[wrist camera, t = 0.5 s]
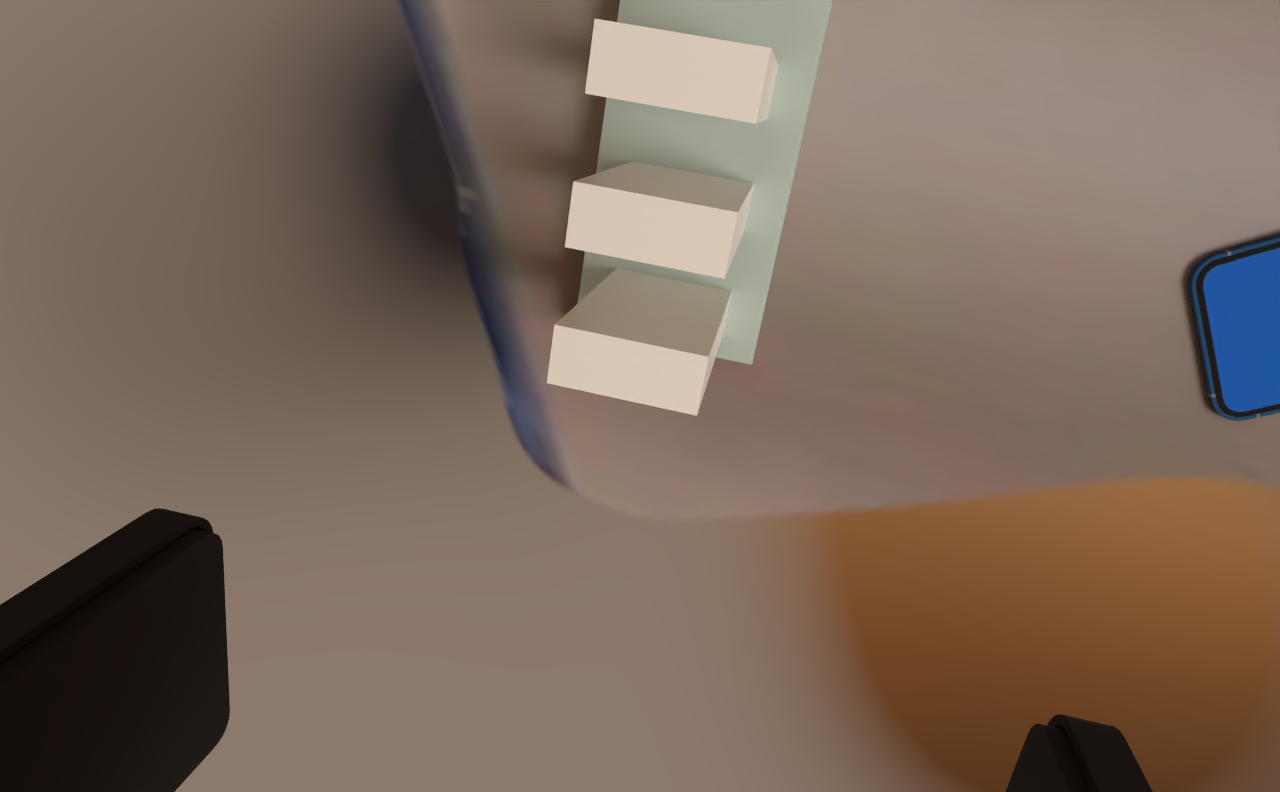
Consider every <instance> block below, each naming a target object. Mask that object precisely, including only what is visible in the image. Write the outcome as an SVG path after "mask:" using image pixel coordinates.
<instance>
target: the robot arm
mask: <svg viewBox="0 0 1280 792" xmlns="http://www.w3.org/2000/svg"><path fill="white" fill-rule="evenodd" d="M229 711H230V705H229V683H228V658H227V635H226V612H225V589H224V565H223V546H222V540H221V539H220V537H219V536H218V535H217V534H215V533H213V530H212V526H211V525H210V523H209V521H207V520H206V519H204V518H201V517H197V516H192V515H188V514H183V513H179V512H175V511H170V510H166V509H153V510H151V511H149V512H147V513H145V514H143V515H142V516H140V517H139V518H137V519H135V520H134V521H132V522H131V523H129V524H127V525H126V526H124V527H123V528H121V529H120V530H118V531H116V532H115V533H113V534H112V535H110V536H108V537H107V538H105V539H104V540H102V541H101V542H99V543H97V544H96V545H94V546H93V547H91V548H89V549H88V550H86V551H85V552H84V553H82V554H80V555H78V556H77V557H75V558H74V559H72V560H70V561H69V562H67V563H66V564H64V565H63V566H61V567H59V568H58V569H56V570H55V571H53V572H51V573H50V574H48V575H47V576H45V577H44V578H42V579H41V580H39V581H37V582H36V583H34V584H32V585H31V586H29V587H28V588H26V589H25V590H23V591H22V592H20V593H19V594H17V595H15V596H14V597H12V598H10V599H9V600H7V601H6V602H4V603H2V604H1V605H0V792H175V791H176V789H177V788H178V787H179V786H180V785H181V784H182V783H183V782H184V780H185V779H186V778H187V777H188V776H189V775H190V774H191V773H192V772H193V771H194V769H195V768H196V767H197V766H198V765H199V764H200V763H201V762H202V761H203V760H204V758H205V757H206V756H207V755H208V754H209V753H210V752H211V751H212V750H213V748H214V747H215V746H216V745H217V743H218V742H219V741H220V739H221V737H222V736H223V734H224V732H225V729H226V726H227V724H228V720H229V713H230V712H229ZM1006 792H1152V790H1151V788H1150V786H1149V784H1148V782H1147V780H1146V778H1145V776H1144V774H1143V772H1142V770H1141V768H1140V767H1139V765H1138V763H1137V761H1136V759H1135V757H1134V755H1133V753H1132V751H1131V749H1130V747H1129V745H1128V743H1127V741H1126V739H1125V737H1124V736H1123V735H1122V734H1121V732H1120V730H1119V729H1117V728H1115V727H1113V726H1109V725H1105V724H1101V723H1096V722H1091V721H1087V720H1083V719H1079V718H1074V717H1070V716H1065V715H1061V714H1060V715H1055V716H1054V717H1053V718H1052V719H1051V720H1050V721H1049V723H1048V725H1047V726H1046V725H1042V724H1035V725H1034V726H1033V727H1032V728H1031V729H1030V731H1029V733H1028V736H1027V738H1026V740H1025V743H1024V746H1023V748H1022V751H1021V753H1020V756H1019V758H1018V761H1017V763H1016V766H1015V769H1014V771H1013V774H1012V777H1011V779H1010V781H1009V784H1008V787H1007V789H1006Z"/></svg>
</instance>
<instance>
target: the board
mask: <svg viewBox="0 0 1280 792" xmlns="http://www.w3.org/2000/svg"><path fill="white" fill-rule="evenodd" d="M832 2H833V0H620V5H619V12H618V19H617V22H618V23H624V24H630V25H636V26H642V27H648V28H654V29H660V30H666V31H672V32H678V33H684V34H690V35H696V36H702V37H708V38H714V39H720V40H726V41H732V42H738V43H744V44H750V45H756V46H762V47H768V48H771V49H772V51H773V54H774V56H775V59H776V61H777V63H778V69H777V74H776V78H775V83H774V88H773V93H772V98H771V103H770V107H769V112H768V117H767V119H766V120H764V121H761V122H759V123H757V124H754V123H748V122H743V121H737V120H731V119H726V118H720V117H715V116H709V115H703V114H698V113H692V112H686V111H681V110H675V109H669V108H664V107H658V106H653V105H647V104H641V103H636V102H630V101H624V100H619V99H613V98H606V105H605V112H604V119H603V126H602V133H601V140H600V148H599V155H598V162H597V169H596V174H597V173H600V172H603V171H606V170H609V169H612V168H615V167H618V166H621V165H624V164H627V163H630V162H633V161H636V162H641V163H647V164H652V165H657V166H663V167H668V168H674V169H679V170H684V171H690V172H695V173H701V174H706V175H711V176H717V177H722V178H728V179H733V180H738V181H744V182H749V183H754V185H753V190H752V195H751V200H750V204H749V209H748V214H747V219H746V224H745V229H744V233H743V235H742V238H741V240H740V243H739V245H738V248H737V250H736V252H735V255H734V257H733V260H732V262H731V264H730V267H729V269H728V272H727V274H726V277H725V279H723V278H718V277H713V276H707V275H702V274H697V273H692V272H687V271H682V270H677V269H672V268H667V267H662V266H657V265H652V264H647V263H642V262H637V261H632V260H627V259H622V258H617V257H612V256H607V255H602V254H597V253H592V252H587V251H585V255H584V262H583V269H582V276H581V283H580V290H579V298H578V303H579V302H580V301H581V300H582V299H584V298H585V297H586V296H587V295H588V294H589V293H590V292H591V291H592V290H594V289H595V288H596V287H597V286H598V285H599V284H600V283H601V282H602V281H603V280H605V279H606V278H607V277H608V276H609V275H610V274H611V273H612V272H613V271H615V270H616V269H617V268H619V269H624V270H629V271H634V272H639V273H644V274H649V275H654V276H659V277H664V278H669V279H674V280H679V281H684V282H689V283H694V284H699V285H704V286H709V287H714V288H719V289H724V290H729V291H732V292H731V297H730V301H729V306H728V311H727V316H726V321H725V326H724V331H723V335H722V339H721V342H720V345H719V348H718V351H717V354H716V357H718V358H722V359H727V360H732V361H737V362H742V363H746V364H751V365H752V362H753V357H754V353H755V348H756V344H757V339H758V335H759V330H760V326H761V321H762V317H763V312H764V308H765V303H766V299H767V294H768V290H769V285H770V281H771V276H772V272H773V267H774V263H775V258H776V254H777V249H778V245H779V240H780V236H781V231H782V227H783V222H784V218H785V213H786V209H787V204H788V200H789V195H790V191H791V186H792V182H793V177H794V173H795V168H796V164H797V159H798V155H799V150H800V146H801V141H802V137H803V132H804V128H805V123H806V119H807V114H808V110H809V105H810V101H811V96H812V92H813V87H814V83H815V78H816V74H817V69H818V65H819V60H820V56H821V51H822V47H823V42H824V38H825V33H826V29H827V24H828V20H829V15H830V11H831V6H832Z"/></svg>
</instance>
